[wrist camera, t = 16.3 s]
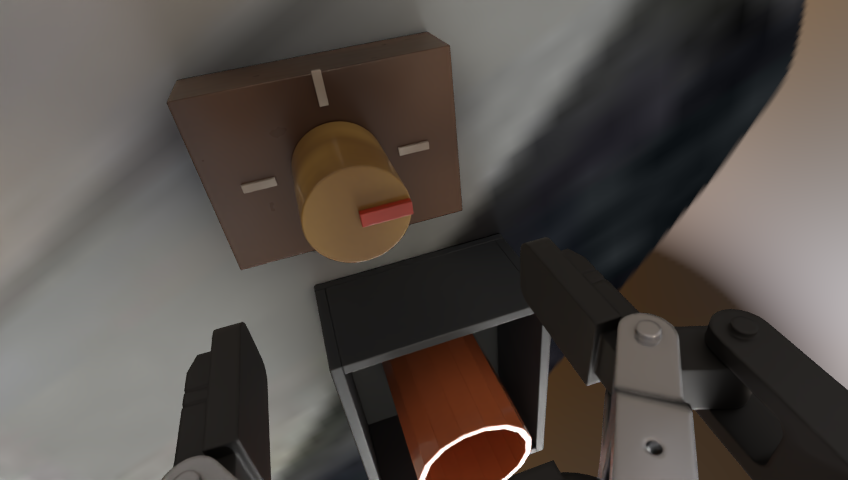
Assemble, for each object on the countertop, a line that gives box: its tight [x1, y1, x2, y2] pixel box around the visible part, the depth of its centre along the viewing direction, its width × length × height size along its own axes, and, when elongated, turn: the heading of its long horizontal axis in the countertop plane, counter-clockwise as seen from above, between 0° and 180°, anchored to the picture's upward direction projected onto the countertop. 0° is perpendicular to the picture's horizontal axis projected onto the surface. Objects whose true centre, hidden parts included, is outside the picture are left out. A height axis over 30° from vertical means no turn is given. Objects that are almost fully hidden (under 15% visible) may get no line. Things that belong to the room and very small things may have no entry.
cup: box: [382, 333, 532, 480], centre depth 29 cm, size 6×6×9 cm
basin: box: [314, 234, 551, 480], centre depth 30 cm, size 12×14×6 cm
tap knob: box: [291, 121, 414, 263], centre depth 19 cm, size 4×4×5 cm
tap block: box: [167, 32, 462, 270], centre depth 22 cm, size 11×8×3 cm
